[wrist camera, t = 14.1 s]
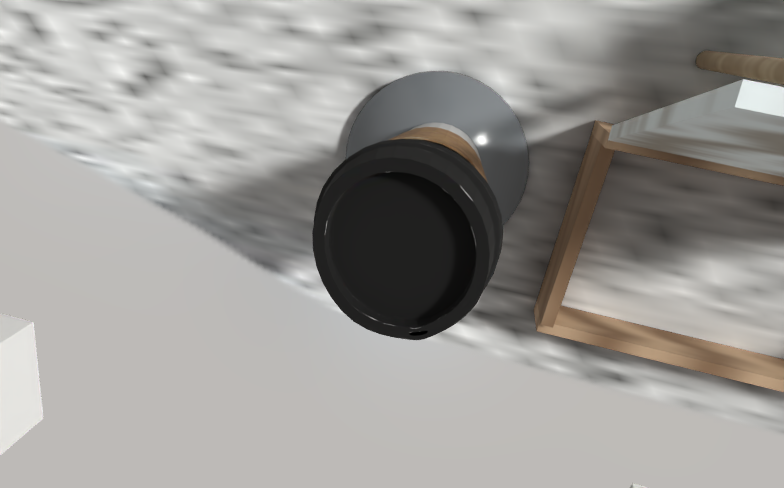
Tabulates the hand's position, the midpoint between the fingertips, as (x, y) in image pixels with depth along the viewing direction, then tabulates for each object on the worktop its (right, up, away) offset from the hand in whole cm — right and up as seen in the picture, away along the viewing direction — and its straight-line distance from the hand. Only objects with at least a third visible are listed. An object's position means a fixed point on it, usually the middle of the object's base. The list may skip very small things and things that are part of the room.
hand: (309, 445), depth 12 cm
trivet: (+5, +10, +24) cm, 27 cm away
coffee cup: (+5, +9, +24) cm, 26 cm away
